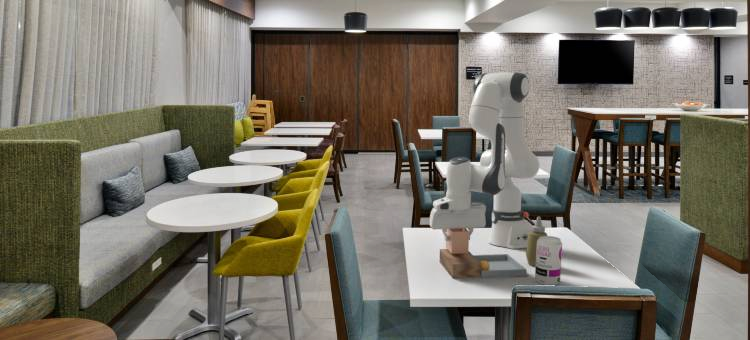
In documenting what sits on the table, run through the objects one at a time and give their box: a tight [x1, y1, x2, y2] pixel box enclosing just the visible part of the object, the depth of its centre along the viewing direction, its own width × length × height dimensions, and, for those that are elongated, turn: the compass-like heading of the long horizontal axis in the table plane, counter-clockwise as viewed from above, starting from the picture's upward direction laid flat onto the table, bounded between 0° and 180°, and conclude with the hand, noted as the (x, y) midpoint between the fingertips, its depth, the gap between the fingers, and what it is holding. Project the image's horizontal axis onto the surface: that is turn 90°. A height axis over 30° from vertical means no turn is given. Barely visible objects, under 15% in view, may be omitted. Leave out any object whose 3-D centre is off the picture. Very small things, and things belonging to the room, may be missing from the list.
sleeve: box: [445, 228, 470, 254], centre depth 208 cm, size 6×8×8 cm
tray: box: [472, 253, 527, 279], centre depth 206 cm, size 16×18×2 cm
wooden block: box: [439, 248, 481, 279], centre depth 205 cm, size 10×18×5 cm, turn 8°
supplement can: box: [534, 235, 563, 286], centre depth 192 cm, size 8×8×15 cm
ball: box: [481, 261, 490, 271], centre depth 201 cm, size 4×4×4 cm
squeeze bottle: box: [525, 216, 548, 267], centre depth 210 cm, size 8×8×18 cm
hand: (457, 240), depth 208 cm, fingers closed on sleeve, 6 cm apart
